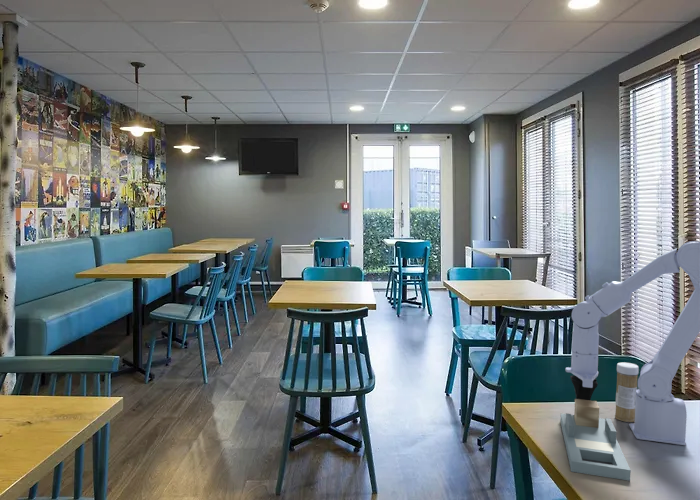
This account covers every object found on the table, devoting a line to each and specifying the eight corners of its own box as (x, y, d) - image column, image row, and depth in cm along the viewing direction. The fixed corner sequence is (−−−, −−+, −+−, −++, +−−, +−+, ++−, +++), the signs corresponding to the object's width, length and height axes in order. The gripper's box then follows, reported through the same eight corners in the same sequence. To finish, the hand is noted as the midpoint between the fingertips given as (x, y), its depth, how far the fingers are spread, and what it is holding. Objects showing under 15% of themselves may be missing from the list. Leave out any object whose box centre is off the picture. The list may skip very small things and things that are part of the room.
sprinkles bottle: (619, 414, 124) (621, 360, 123) (639, 419, 121) (641, 365, 120) (611, 418, 121) (613, 363, 120) (631, 424, 118) (634, 368, 117)
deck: (607, 427, 116) (607, 408, 116) (630, 480, 92) (631, 456, 92) (560, 421, 119) (561, 403, 119) (571, 471, 95) (572, 448, 95)
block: (595, 420, 115) (596, 401, 115) (598, 428, 111) (599, 408, 110) (574, 417, 116) (574, 398, 116) (576, 425, 112) (577, 405, 112)
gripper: (564, 343, 127) (561, 395, 128) (569, 358, 113) (567, 416, 114) (594, 345, 125) (592, 399, 126) (604, 361, 111) (601, 421, 112)
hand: (582, 407), depth 120 cm, fingers closed
